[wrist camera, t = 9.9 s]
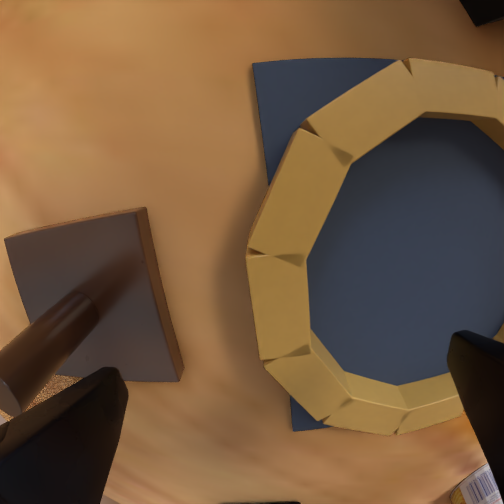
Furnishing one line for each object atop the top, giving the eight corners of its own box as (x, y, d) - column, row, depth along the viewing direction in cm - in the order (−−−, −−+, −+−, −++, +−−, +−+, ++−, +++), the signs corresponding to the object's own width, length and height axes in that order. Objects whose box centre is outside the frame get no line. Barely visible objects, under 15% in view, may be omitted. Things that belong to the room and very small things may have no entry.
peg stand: (185, 368, 15) (142, 493, 8) (62, 363, 15) (-5, 447, 8) (146, 206, 12) (26, 267, 5) (17, 232, 13) (-90, 284, 6)
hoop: (519, 367, 14) (533, 383, 12) (273, 428, 15) (273, 455, 13) (545, 97, 9) (569, 96, 7) (226, 78, 11) (218, 63, 9)
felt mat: (515, 370, 14) (517, 373, 14) (292, 428, 16) (292, 431, 15) (541, 89, 9) (544, 89, 9) (252, 65, 11) (252, 63, 10)
